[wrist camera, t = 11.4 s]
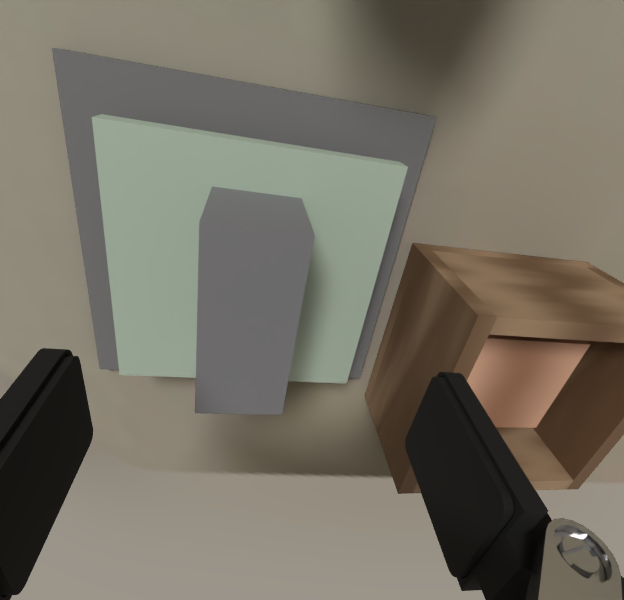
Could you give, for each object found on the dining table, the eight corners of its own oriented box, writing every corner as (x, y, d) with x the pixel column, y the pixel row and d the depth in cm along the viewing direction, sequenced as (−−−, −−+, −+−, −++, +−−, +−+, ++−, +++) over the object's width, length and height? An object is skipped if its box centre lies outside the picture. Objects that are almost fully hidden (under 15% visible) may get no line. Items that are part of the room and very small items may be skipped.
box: (587, 262, 22) (708, 332, 16) (509, 398, 28) (578, 489, 22) (412, 243, 20) (478, 316, 14) (364, 395, 26) (398, 493, 20)
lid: (391, 156, 17) (451, 195, 12) (339, 357, 23) (364, 444, 18) (111, 110, 15) (34, 134, 10) (131, 347, 21) (89, 442, 15)
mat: (431, 115, 17) (436, 117, 16) (357, 371, 24) (359, 378, 24) (59, 48, 14) (51, 48, 14) (103, 361, 22) (99, 369, 21)
